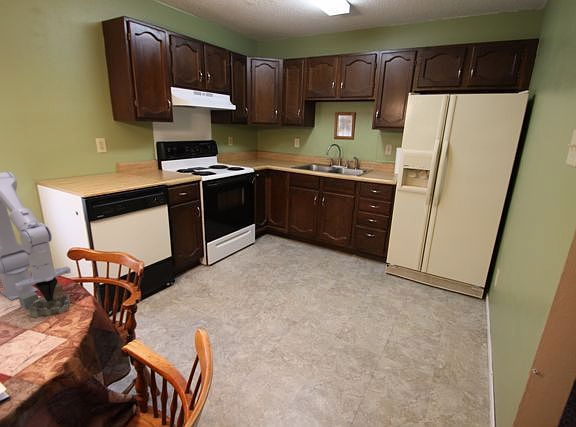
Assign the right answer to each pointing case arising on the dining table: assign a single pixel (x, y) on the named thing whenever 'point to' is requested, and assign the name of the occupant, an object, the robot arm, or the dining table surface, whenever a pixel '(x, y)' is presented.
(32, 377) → the dining table surface
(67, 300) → the grey piece
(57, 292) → the walnut block
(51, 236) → the robot arm
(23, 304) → the slate-grey block
